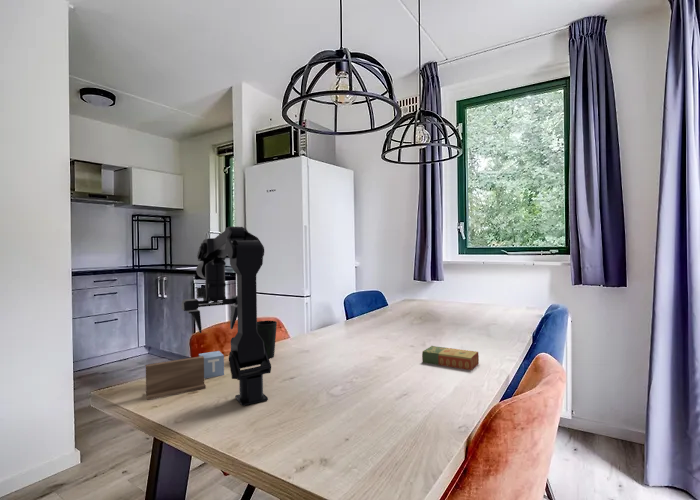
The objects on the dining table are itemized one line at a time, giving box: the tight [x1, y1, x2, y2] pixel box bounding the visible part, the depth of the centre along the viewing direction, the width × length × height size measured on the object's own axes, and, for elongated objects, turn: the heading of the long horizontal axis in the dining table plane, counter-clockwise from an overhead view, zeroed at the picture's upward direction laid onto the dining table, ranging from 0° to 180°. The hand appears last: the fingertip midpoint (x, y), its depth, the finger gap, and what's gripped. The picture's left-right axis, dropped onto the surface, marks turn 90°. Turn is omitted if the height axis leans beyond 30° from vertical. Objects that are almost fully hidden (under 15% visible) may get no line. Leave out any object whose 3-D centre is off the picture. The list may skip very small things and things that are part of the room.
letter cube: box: [198, 350, 225, 380], centre depth 114 cm, size 6×6×6 cm
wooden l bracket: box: [145, 355, 207, 401], centre depth 101 cm, size 5×14×8 cm, turn 122°
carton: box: [421, 345, 480, 371], centre depth 122 cm, size 8×16×4 cm, turn 56°
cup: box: [257, 320, 278, 360], centre depth 132 cm, size 8×8×12 cm
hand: (216, 330), depth 116 cm, fingers open, 9 cm apart
